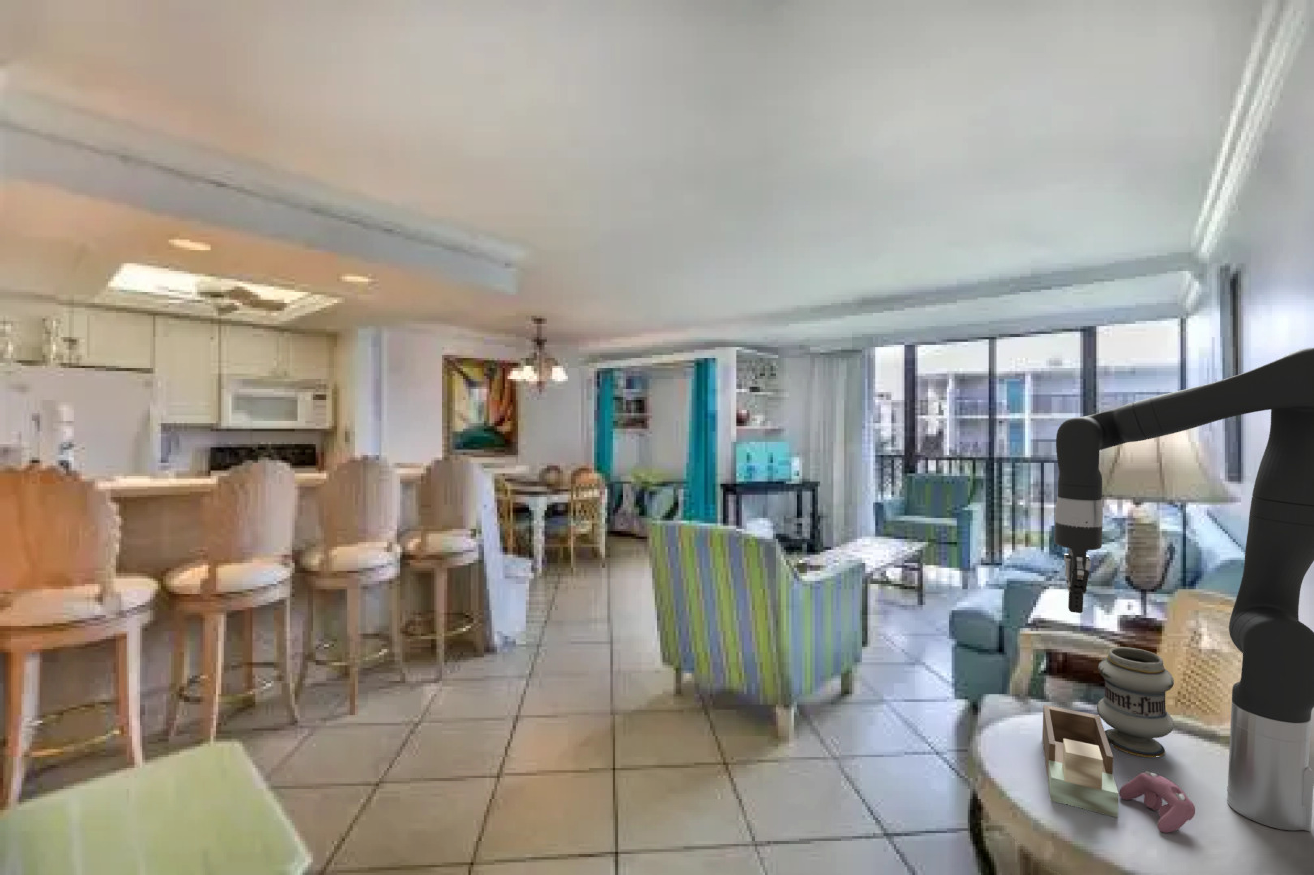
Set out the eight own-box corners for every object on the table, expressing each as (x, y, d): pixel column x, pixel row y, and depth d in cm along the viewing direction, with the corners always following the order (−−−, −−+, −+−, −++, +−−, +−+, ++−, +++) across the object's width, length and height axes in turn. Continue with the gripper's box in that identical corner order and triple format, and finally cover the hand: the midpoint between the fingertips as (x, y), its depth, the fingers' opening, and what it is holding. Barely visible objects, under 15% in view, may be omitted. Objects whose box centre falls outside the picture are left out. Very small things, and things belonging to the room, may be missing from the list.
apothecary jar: (1080, 731, 130) (1083, 644, 129) (1130, 726, 132) (1134, 641, 131) (1135, 764, 118) (1139, 668, 117) (1189, 757, 120) (1193, 664, 119)
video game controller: (1185, 845, 98) (1207, 806, 98) (1159, 832, 98) (1181, 792, 98) (1137, 805, 108) (1157, 769, 108) (1113, 793, 108) (1133, 757, 108)
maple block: (1097, 774, 107) (1098, 745, 107) (1101, 790, 103) (1102, 760, 103) (1062, 766, 110) (1063, 738, 109) (1065, 781, 105) (1066, 752, 105)
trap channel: (1098, 751, 122) (1099, 715, 122) (1117, 817, 102) (1119, 775, 102) (1042, 739, 126) (1043, 704, 126) (1050, 800, 107) (1051, 760, 106)
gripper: (1107, 529, 113) (1104, 625, 114) (1097, 518, 125) (1094, 605, 126) (1058, 525, 117) (1055, 618, 118) (1052, 515, 128) (1049, 599, 129)
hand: (1075, 611), depth 122 cm, fingers closed
